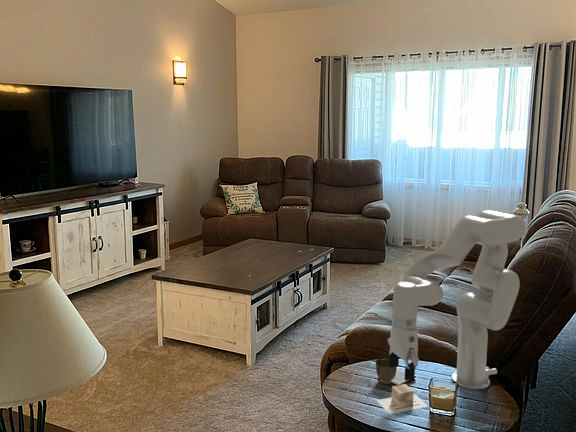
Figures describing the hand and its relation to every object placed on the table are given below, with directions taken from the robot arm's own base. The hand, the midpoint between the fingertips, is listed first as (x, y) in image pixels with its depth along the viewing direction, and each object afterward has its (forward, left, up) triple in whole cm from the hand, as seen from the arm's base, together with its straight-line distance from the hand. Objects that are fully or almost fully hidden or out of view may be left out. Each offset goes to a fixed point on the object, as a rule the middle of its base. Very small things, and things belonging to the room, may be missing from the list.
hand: (401, 372), depth 183 cm
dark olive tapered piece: (-3, -15, -11) cm, 19 cm away
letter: (-1, 0, -11) cm, 11 cm away
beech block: (-1, 0, -11) cm, 11 cm away
